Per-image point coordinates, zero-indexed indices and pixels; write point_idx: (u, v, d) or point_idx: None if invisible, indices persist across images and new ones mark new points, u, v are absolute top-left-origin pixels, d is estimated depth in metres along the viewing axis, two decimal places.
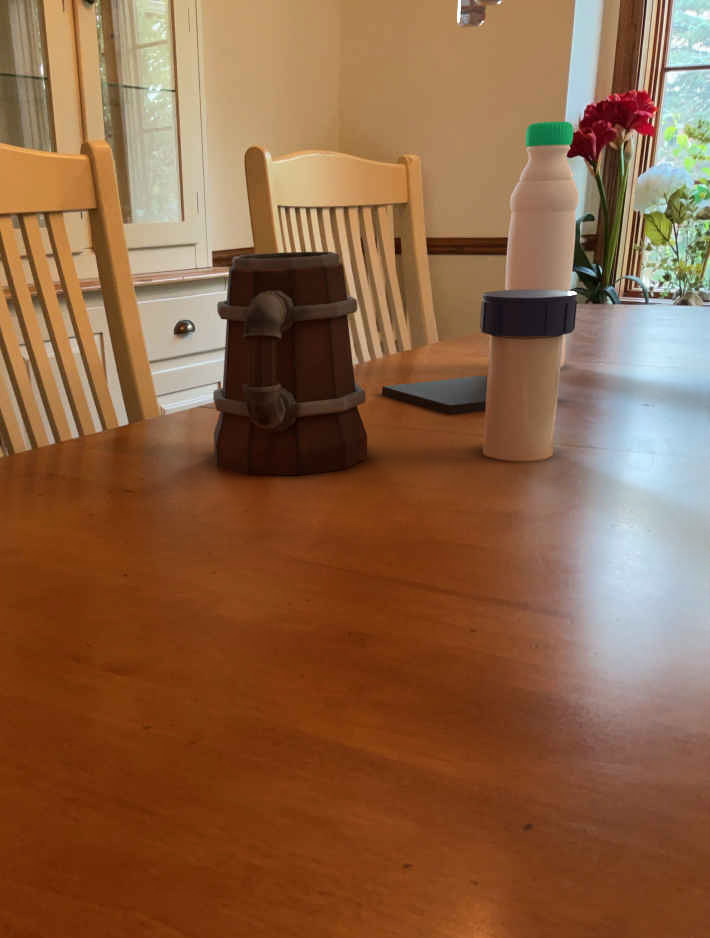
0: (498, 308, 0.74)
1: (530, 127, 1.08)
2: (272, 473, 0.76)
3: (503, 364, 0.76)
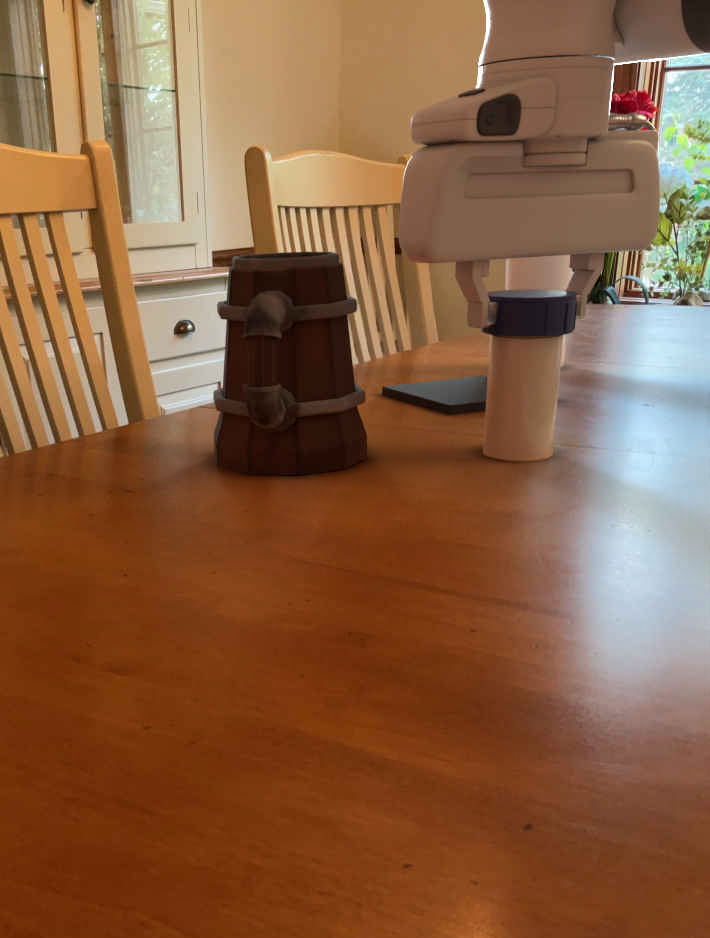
0: None
1: None
2: (272, 473, 0.76)
3: (504, 364, 0.76)
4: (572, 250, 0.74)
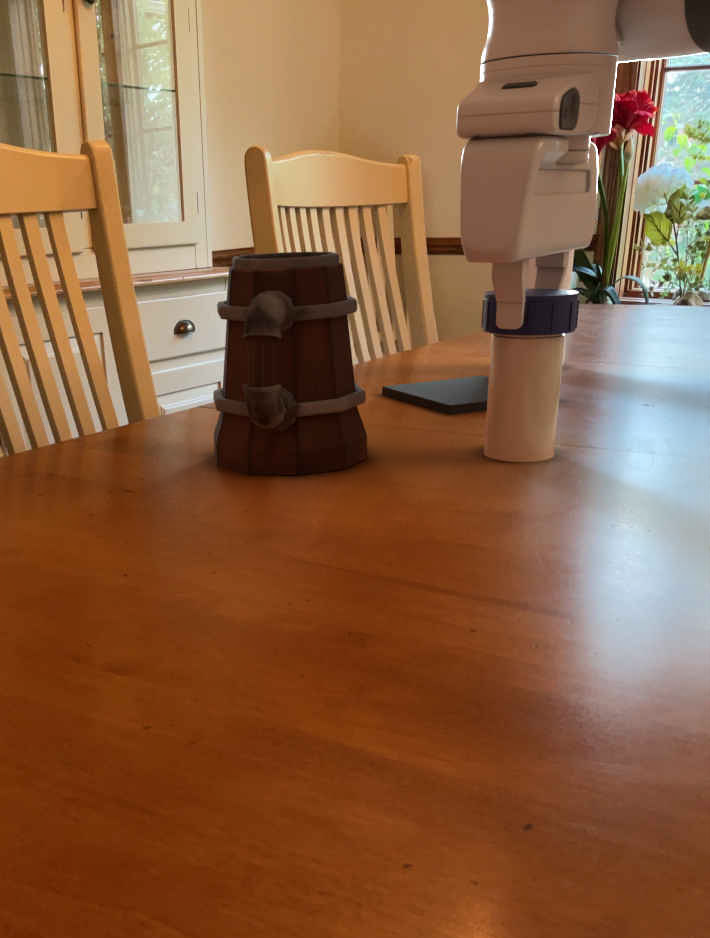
0: (528, 307, 0.73)
1: None
2: (272, 473, 0.76)
3: (507, 365, 0.75)
4: (566, 248, 0.75)
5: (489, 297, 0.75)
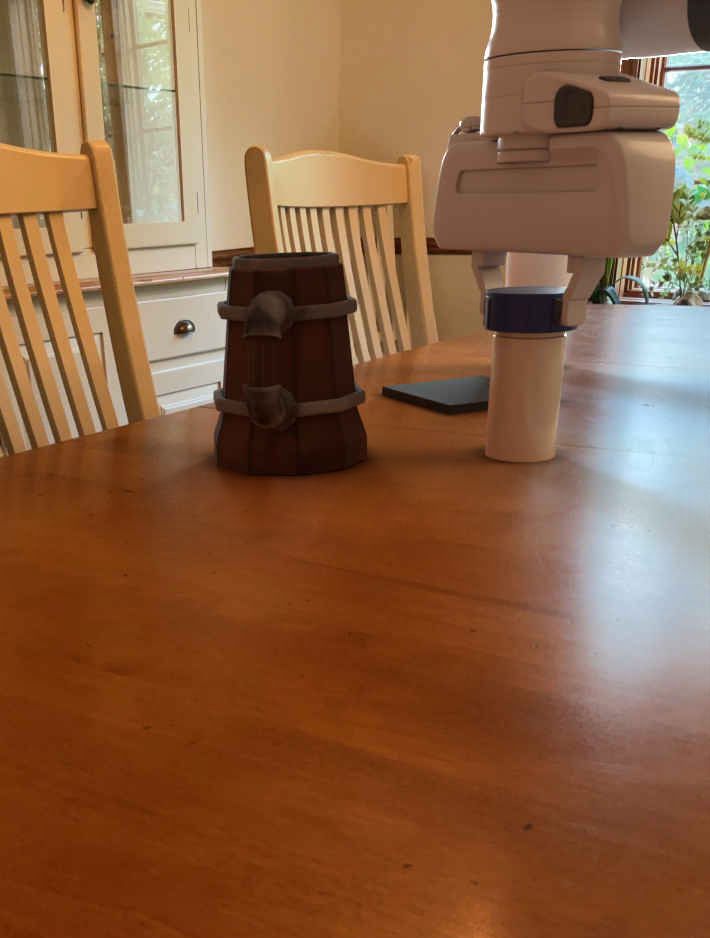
0: None
1: None
2: (272, 473, 0.76)
3: (509, 365, 0.75)
4: None
5: (530, 297, 0.72)
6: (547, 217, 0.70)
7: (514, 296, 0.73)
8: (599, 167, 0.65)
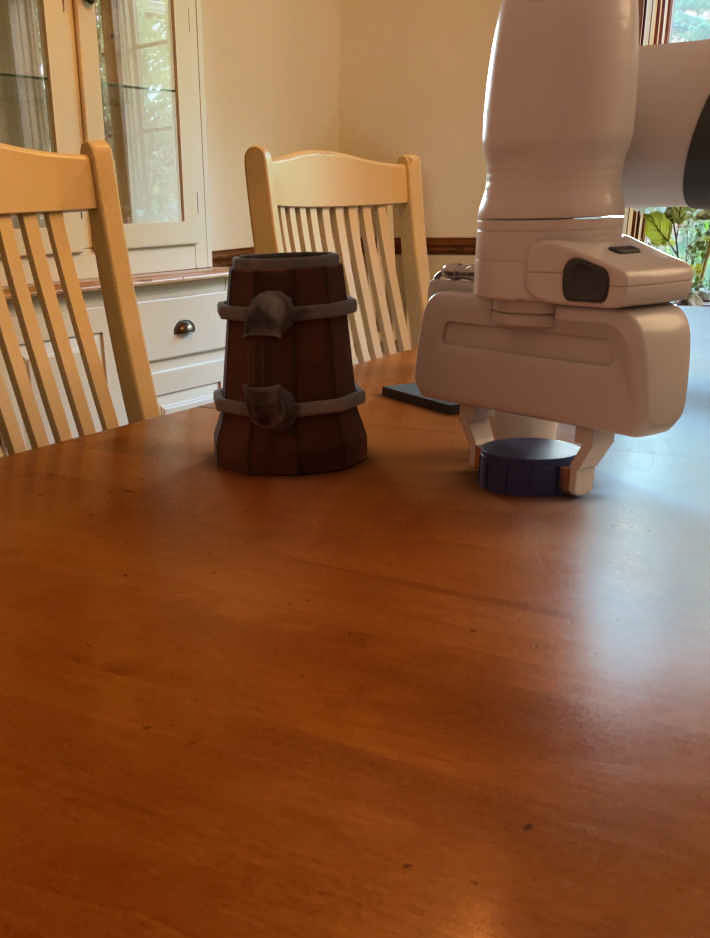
0: None
1: None
2: (272, 473, 0.76)
3: None
4: None
5: (533, 462, 0.68)
6: (550, 384, 0.66)
7: (516, 460, 0.68)
8: (611, 343, 0.61)
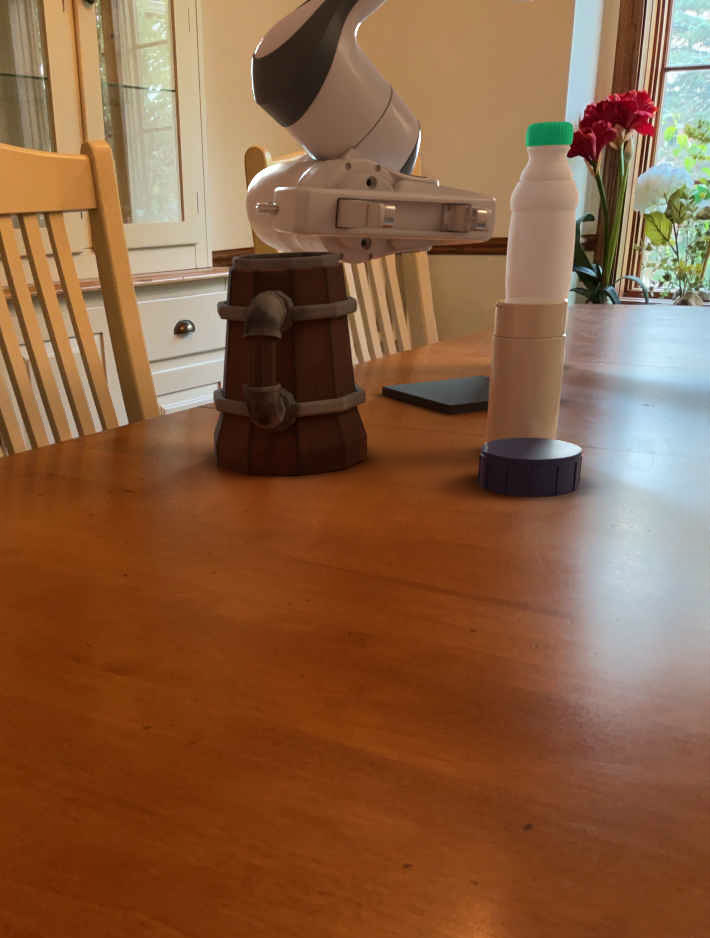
0: (576, 466, 0.69)
1: (530, 127, 1.08)
2: (272, 473, 0.76)
3: (508, 365, 0.75)
4: (378, 236, 0.88)
5: (533, 462, 0.68)
6: None
7: (516, 460, 0.68)
8: None
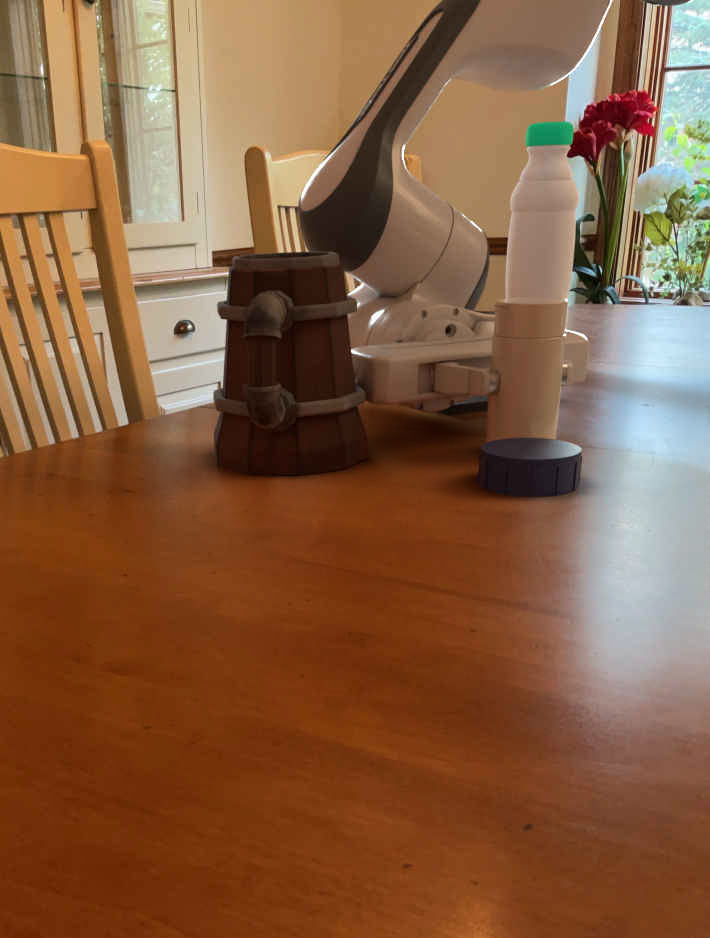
0: (576, 466, 0.69)
1: (530, 127, 1.08)
2: (272, 473, 0.76)
3: (508, 365, 0.75)
4: (464, 396, 0.81)
5: (533, 462, 0.68)
6: None
7: (516, 460, 0.68)
8: None
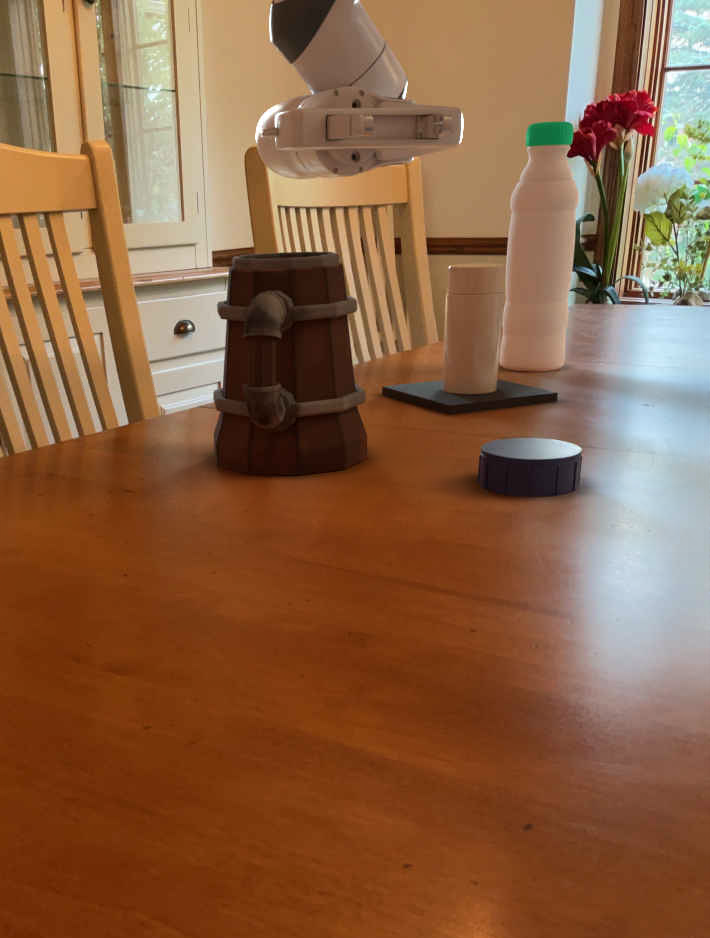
0: (576, 466, 0.69)
1: (530, 127, 1.08)
2: (272, 473, 0.76)
3: (458, 316, 0.96)
4: (363, 146, 1.06)
5: (533, 462, 0.68)
6: None
7: (516, 460, 0.68)
8: None
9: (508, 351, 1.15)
